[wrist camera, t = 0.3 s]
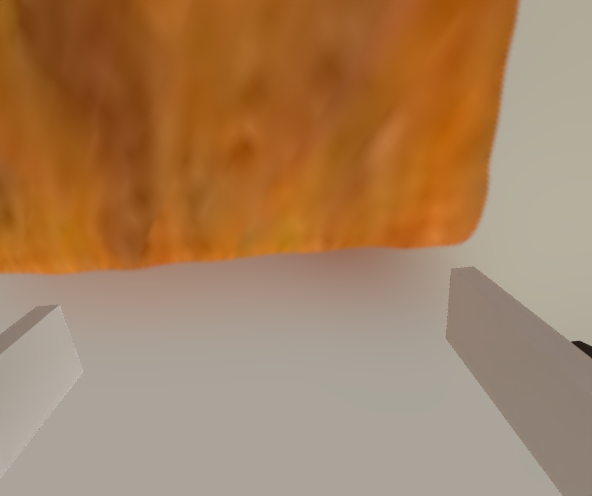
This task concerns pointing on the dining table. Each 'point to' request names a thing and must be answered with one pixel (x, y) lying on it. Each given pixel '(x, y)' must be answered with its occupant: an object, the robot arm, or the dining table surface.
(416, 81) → the dining table surface
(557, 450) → the robot arm
